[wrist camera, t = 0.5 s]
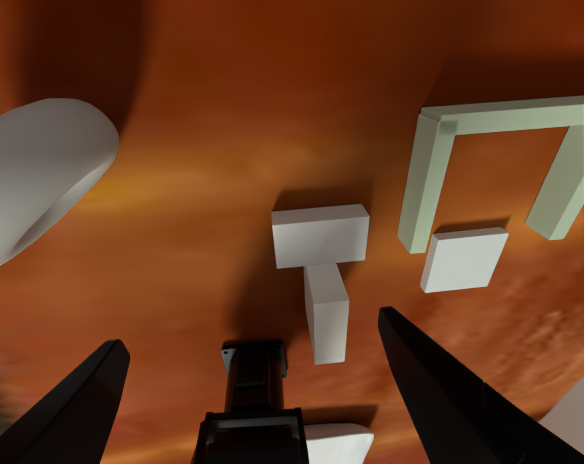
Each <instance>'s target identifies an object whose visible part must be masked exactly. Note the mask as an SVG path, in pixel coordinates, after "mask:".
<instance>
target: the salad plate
mask: <svg viewBox="0 0 584 464" xmlns="http://www.w3.org/2000/svg"><path fill="white" fill-rule="evenodd" d="M304 430H305V436H306V442H307V448H308V455H309V464H362V463H363V461H364V459H365V456H366V454H367V452H368V450H369V448H370V446H371V443H372V441H373V438H374V433H373V432H372V431H371V430H370V429H368V428H366V427H364V426H362V425H358V424H353V423H341V424H339V423H332V424H317V425H304Z"/></svg>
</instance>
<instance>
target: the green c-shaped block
mask: <svg viewBox="0 0 584 464" xmlns="http://www.w3.org/2000/svg"><path fill="white" fill-rule="evenodd" d="M562 126H570V127H569V129H568V131H567V133H566V135H565V138H564V140H563V142H562V144H561V146H560V148H559V150H558V153H557V155H556V157H555V159H554V161H553V163H552V166H551V168H550V170H549V172H548V174H547V176H546V178H545V181H544V183H543V185H542V187H541V189H540V191H539V194H538V196H537V198H536V200H535V202H534V204H533V206H532V209H531V211H530V213H529V215H528V217H527V219H526V222H525V225H527V226H528V227H530V228H531V229H533V230H534V231H536V232H537V233H539V234H540V235H542V236H543V237H545V238H546V239H548V240H557V239H564V237H565V235H566V234H567V232H568V230H569V229H570V227H571V225H572V223H573V222H574V220H575V218H576V216H577V215H578V213H579V211H580V209H581V208H582V206H583V204H584V95H583V96H570V97H556V98H543V99H530V100H517V101H503V102H490V103H477V104H464V105H450V106H437V107H424V108H421V113H419V117H418V122H417V128H416V133H415V139H414V144H413V150H412V155H411V161H410V167H409V172H408V178H407V183H406V189H405V194H404V200H403V205H402V211H401V217H400V222H399V228H398V233H397V237H398V238H399V239H400V241H401V242H402V244H403V245H404V246H405V248H406V249H407V251H408V252H409V253H410V254H414V253H424V252H425V251H426V247H427V243H428V239H429V235H430V231H431V227H432V223H433V220H434V216H435V212H436V208H437V204H438V200H439V196H440V192H441V188H442V184H443V180H444V176H445V173H446V169H447V165H448V161H449V157H450V153H451V149H452V145H453V141H454V137H455V135H462V134H474V133H487V132H499V131H512V130H524V129H537V128H549V127H562Z"/></svg>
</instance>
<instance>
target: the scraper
mask: <svg viewBox="0 0 584 464" xmlns="http://www.w3.org/2000/svg"><path fill="white" fill-rule="evenodd" d="M369 218H370V216H369V215H368V213H367V211H366V210H365V208H364V207H363V205H362V204H353V205H342V206H331V207H320V208H309V209H297V210H286V211H275V212H272V228H273V237H274V246H275V255H276V265H277V269H279V268H289V267H300V266H304V286H305V308H306V314H307V320H308V326H309V332H310V338H311V344H312V350H313V356H314V362H315V365H318V364H327V363H335V362H344V360H345V347H346V335H347V322H348V310H349V298H348V295H347V292H346V290H345V287H344V284H343V281H342V278H341V275H340V272H339V269H338V267H337V264H336V263H340V262H350V261H360V260H365V254H366V245H367V236H368V227H369Z"/></svg>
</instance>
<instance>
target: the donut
mask: <svg viewBox="0 0 584 464" xmlns="http://www.w3.org/2000/svg"><path fill="white" fill-rule="evenodd" d="M119 145H120V142H119V134H118V132H117V130H116V128H115V126H114V124H113V123H112V122H111V121H110V120H109V118H108V117H107V116H106V115H105V114H104V113H102V112H101V111H100V110H99V109H97V108H96V107H94V106H93V105H91V104H89V103H87V102H84V101H81V100H78V99H70V98H49V99H44V100H40V101H37V102H33V103H30V104H27V105H24V106H21V107H18V108H15V109H12V110H10V111H8V112H6V113H4V114H3V115H1V116H0V265H2V264H4V263H5V262H7V261H8V260H10V259H12V258H13V257H14V256H16V255H17V254H19V253H20V252H21V251H23V250H24V249H25V248H27V247H28V246H29V245H31V244H32V243H33V242H34V241H36V240H37V239H38V238H39V237H40V236H41V235H43V234H44V233H45V232H46V231H47V230H49V229H50V228H51V227H52V226H53V225H54V224H55V223H56V222H57V221H59V220H60V219H61V218H62V217H63V216H64V215H65V214H66V213H67V212H68V211H69V210H70V209H71V208H72V207H73V206H75V205H76V204H77V203H78V202H79V201H80V200H81V199H82V198H83V197H84V196H85V194H86V193H87V192H88V191H89V190H90V189H91V188H92V187H93V186H94V185H95V184H96V183H97V182H98V180H99V179H100V178H101V177H102V176H103V175H104V173H105V172H106V171H107V170H108V168H109V167H110V165H111V164H112V163H113V161H114V160H115V158H116V156H117V153H118V149H119Z"/></svg>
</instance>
